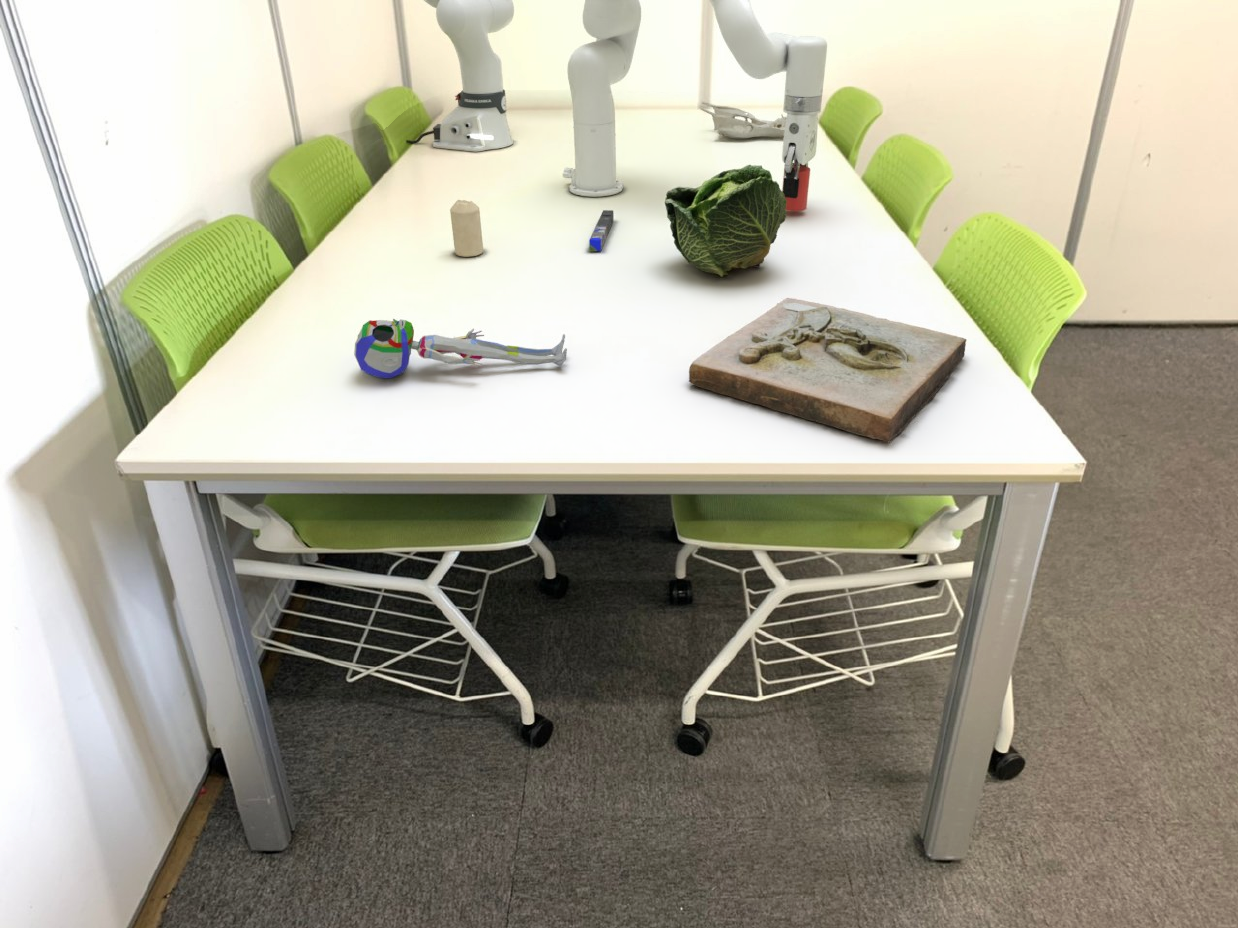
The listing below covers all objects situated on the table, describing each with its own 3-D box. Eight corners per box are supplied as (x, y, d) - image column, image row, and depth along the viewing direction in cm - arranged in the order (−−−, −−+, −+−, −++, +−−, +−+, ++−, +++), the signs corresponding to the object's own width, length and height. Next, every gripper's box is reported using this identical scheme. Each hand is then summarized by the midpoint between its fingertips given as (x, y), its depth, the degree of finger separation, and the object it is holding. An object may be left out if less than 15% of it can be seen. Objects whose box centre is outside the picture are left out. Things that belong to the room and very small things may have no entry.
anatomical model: (702, 99, 259) (790, 97, 255) (702, 132, 264) (788, 131, 260) (698, 109, 247) (790, 108, 243) (698, 144, 252) (788, 143, 248)
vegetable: (694, 294, 173) (643, 202, 166) (775, 239, 175) (728, 145, 167) (734, 307, 155) (678, 205, 147) (824, 245, 156) (773, 141, 149)
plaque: (899, 396, 108) (687, 337, 122) (890, 447, 111) (686, 383, 126) (977, 316, 128) (788, 274, 143) (967, 361, 132) (784, 315, 147)
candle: (488, 249, 176) (483, 198, 171) (475, 258, 172) (470, 206, 167) (463, 246, 178) (457, 196, 173) (450, 255, 174) (443, 204, 168)
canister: (792, 213, 190) (796, 173, 186) (775, 206, 194) (778, 168, 190) (811, 208, 193) (815, 169, 188) (794, 202, 196) (797, 164, 192)
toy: (569, 347, 126) (349, 329, 122) (563, 400, 131) (350, 385, 126) (565, 318, 135) (359, 301, 130) (559, 369, 139) (360, 354, 134)
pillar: (613, 210, 190) (600, 241, 173) (613, 220, 191) (600, 251, 174) (603, 210, 190) (589, 240, 173) (603, 220, 191) (589, 251, 174)
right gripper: (809, 113, 174) (800, 206, 184) (831, 97, 187) (821, 185, 197) (771, 110, 177) (765, 202, 187) (796, 95, 190) (788, 181, 200)
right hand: (794, 192), depth 192 cm, fingers closed on canister, 5 cm apart
